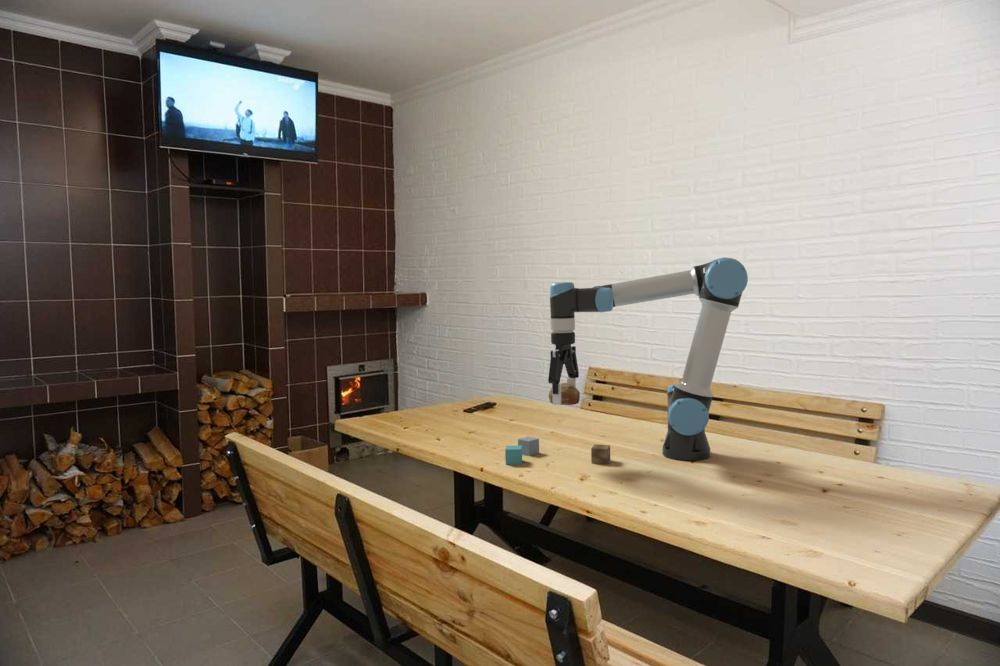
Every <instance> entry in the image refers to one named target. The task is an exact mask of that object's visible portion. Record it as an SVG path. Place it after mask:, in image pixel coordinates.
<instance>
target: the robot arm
mask: <svg viewBox="0 0 1000 666" xmlns="http://www.w3.org/2000/svg"><path fill="white" fill-rule="evenodd" d="M748 279H749V276H748V272H747V269H746V267H745V265H744V264H743V263H742V262H740V261H739V260H738V259H735V258H733V257H720V258H717V259H716V258H715V259H714V260H712V261H710V262H707V263H703V264H699V265H694V266H692V267H691V269H689V270H683V271H678V272H671V273H668V274H667V273H666V274H661V275H656V276H649V277H644V278H638V279H633V280H627V281H621V282H615V283H610V284H604V285H595V286H593V287H586V288H585V287H584V288H580V287H579V288H577V287H575V284H574V282H572V281H570V282H568V281H567V282H565V281H563V282H560V281H559V282H553V283H551V284H550V287H549V288H550V289H549V290H550V291H549V307H550V308H549V309H550V321H549V323H550V330H551V333H550V342H551V344H552V345H554V346H555V349H554V350H550V362H549V370H548V371H549V372H548V380H547V381H548V384H550V385H551V388H552V400H553V404H552V405H554V404H556V406H557V405H559V406H562V405H561V404H562V403H561V384H560V382H561V378H562V373H563V369H564V367H565V370H566V373H567V376H568V377H567V378H566V383H568V384H571V385H573V386H574V387H575V388H576V389H577V380H576V379H578V378H579V377H580V371H579V365H578V358H577V351H576V350H577V348H576V346H575V345H574V344H575V343H576V333H575V330H576V322H575V321H576V318H575V313H607V312H611V311H613V309H614V308H615V307H621V306H628V305H632V304H633V305H635V304H639V303H646V302H653V301H658V300H664V299H665V300H666V299H670V298H675V297H684V296H687V295H693V294H694V295H695V296H697V297H698V300H699V301H700V303H701V309H700V311H699V317H698V319H697V323H696V325H695V330H694V334H693V337H692V342H691V345H690V349H689V352H688V356H687V360H686V364H685V367H684V370H683V374H682V378H681V380H680V381H678V382H677V383H675V384H671V385H670V384H669V385H668V387H667V392H666V395H667V414H666V415H667V432H666V435H665V439H664V442H663V444H662V456H664V457H666V458H669V459H672V460H679V461H700V460H705V459H708V458H710V457H711V447H710V444H709V440H708V438H707V435H706V430H705V429H706V427H707V425H708V423H709V422H710V421H709V420H710V417H709V416H710V414H709V413H710V409H711V405H712V403H713V398H714V393H713V392H712V390H711V386H712V382H713V379H714V374H715V371H716V367H717V365H718V361H719V357H720V354H721V350H722V346H723V343H724V339H725V335H726V332H727V329H728V326H729V321H730V317H731V314H732V312H733V311H735V310H737V309H738V308H739V306H740V302H741V299H742V296H743V295H742V294H743V292H744V291H745V290H746V287H747V285H748V281H749V280H748Z"/></svg>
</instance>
